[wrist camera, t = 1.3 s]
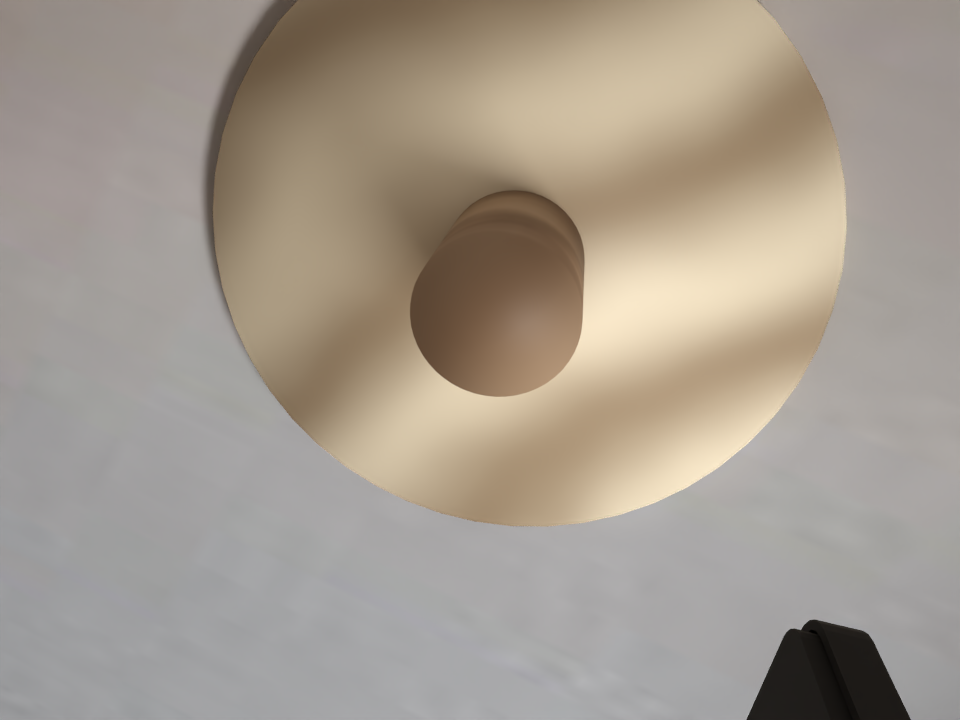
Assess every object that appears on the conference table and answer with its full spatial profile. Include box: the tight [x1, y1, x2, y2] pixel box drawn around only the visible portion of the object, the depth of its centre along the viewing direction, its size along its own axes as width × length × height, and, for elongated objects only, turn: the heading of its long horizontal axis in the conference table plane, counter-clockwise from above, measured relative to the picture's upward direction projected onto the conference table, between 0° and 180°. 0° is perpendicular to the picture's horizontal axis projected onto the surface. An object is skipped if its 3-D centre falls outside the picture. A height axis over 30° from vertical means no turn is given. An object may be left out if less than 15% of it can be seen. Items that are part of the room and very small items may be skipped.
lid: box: [213, 0, 847, 526], centre depth 21 cm, size 18×18×6 cm
